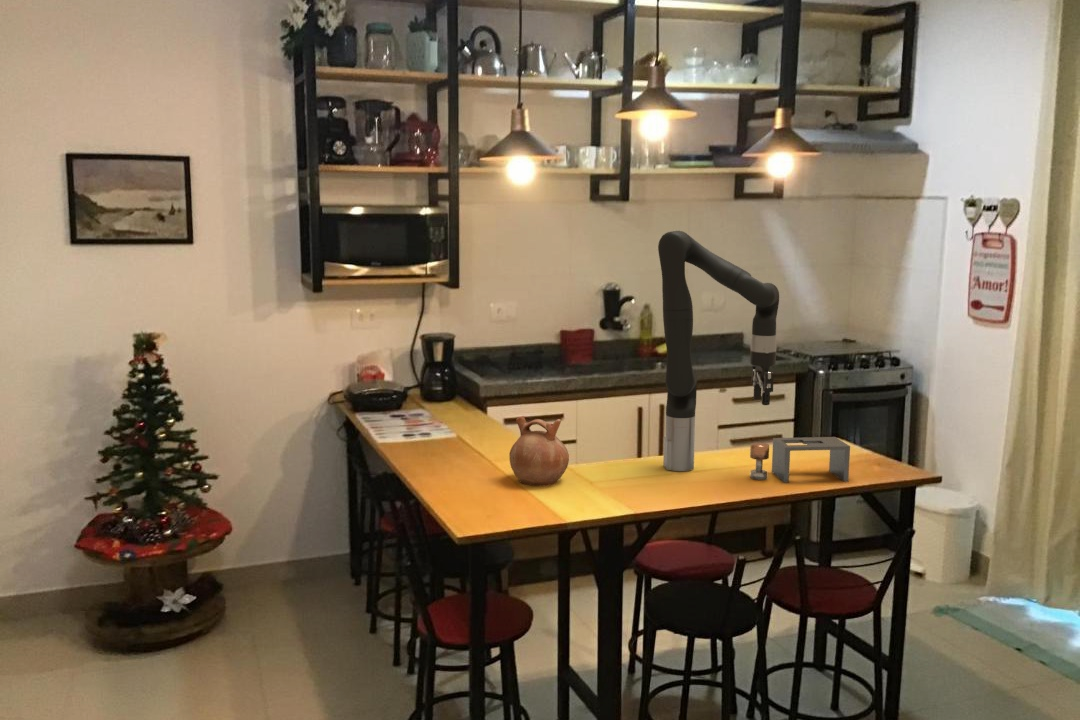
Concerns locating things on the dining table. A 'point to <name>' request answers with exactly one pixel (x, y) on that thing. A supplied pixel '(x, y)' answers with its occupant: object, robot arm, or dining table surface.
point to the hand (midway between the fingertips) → (761, 402)
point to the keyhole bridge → (836, 447)
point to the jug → (538, 454)
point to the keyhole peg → (759, 460)
